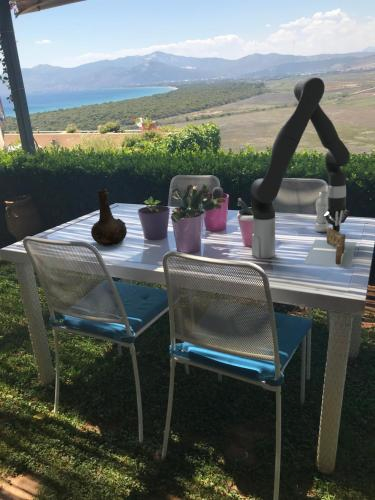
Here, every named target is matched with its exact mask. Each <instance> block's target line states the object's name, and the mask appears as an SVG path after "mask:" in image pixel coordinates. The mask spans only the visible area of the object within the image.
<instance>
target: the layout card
mask: <svg viewBox="0 0 375 500" xmlns="http://www.w3.org/2000/svg"><path fill="white" fill-rule="evenodd" d="M356 245H357V241H346V240H345V248H344V253H343V254H342V256H341V264H335V262H336V246H333V245H332V244H330V243H327V239H314V241H313V244H312V246H311V248H310V250H309V252H308V254H307V256H306V257H305V260H304V261H303V264H307V265H315V266H327V267H336V268H337V267H338V268H346V269H347V268H349V269H350V268H352V263H353V259H354V255H355V251H356Z"/></svg>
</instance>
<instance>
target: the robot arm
mask: <svg viewBox="0 0 375 500" xmlns="http://www.w3.org/2000/svg"><path fill="white" fill-rule="evenodd" d="M325 88H326V87H325V82H324V81H323V79H322V78H320V77H313V76H312V77H304V78H300V79H299V80H297V82H296V83H295V85H294V87H293V95H294V97H295V99H296V100H297V105H296V107H295V109H294V111H293V113H292V114H291V116H290V117H288V119H287V120H286V121H285V123H283V124H282V126H281V128H280V129H279V130H278V132H277V135H276V137H275V140H274V141H273V144H272V145H273V146H272V147H271V148H272V149H271V152H270V153H271V155H270V161H269V166H268V169H267V171H266V173H265V175H264V177H263V178H258V179H256V180H255V181H253V183H252V185H251V188H250V203H251V204H250V205H251V211H252V220H253V234H252V237H251V255H252V256H254V257H256V259H271V258H274V257H276V211H275V208H274V205H273V202H274V200H275V199H277V197H278V194H279V191H280V188H281V186H282V183H283V180H284V177H285V174H286V173H287V170H288V168H289V165H290V164H291V161H292V159H293V157H294V154H295V153H296V150H297V148H298V147H299V144H300V141H301V140H302V137H303V134H304V132H305V131H306V129H307V126H308V124H309V122H310V123H311V124H312V126H313V127H314V130H315V132H316V133H317V134H316V135H317V136H318V138H319V141H320V142H321V145H322V146H323V148H324V149H325V150H328V151H327V152H326V154H325V156H324V157H325V159H324V160H325V167H326V170H327V171H326V172H327V174H328V188H327V195H328V196H327V198H328V210H327V213H326V214H324V215H323V217H324V218H325V220H326V221H327V222H328V223H329V225H331V226H332V229H334V230H336V231H337V232H339V233H340V231H341V224H344V223H345V221H346V220H347V218H348V217H349V215H350V213H351V211H350V210H347V207H346V205H347V186H346V185H347V183H346V182H347V174H346V171H344V170H342V167H345V166H347V165H348V164H349V163H350V160H351V155H350V150H349V149H348V147H347V146H346V144H345V143H344V142H343V141H342V139H341V138H340V137H339V134H338V132H337V129H336V127H335V125H334V123H333V122H332V120H331V119H330V118H329V116H328V115H327V114H326V112H325V111H324V110H323V108H322V107H321V105H320V102H321V100H322V99H323V96H324V94H325Z"/></svg>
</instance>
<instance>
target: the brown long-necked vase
mask: <svg viewBox="0 0 375 500" xmlns="http://www.w3.org/2000/svg"><path fill="white" fill-rule="evenodd" d="M109 194H110V192H109V191H108V190H107V188H100V189H98V190H97V193H96V196H98V204H99V206H98V207H99V217H98V220H97V221H96V222H95V223H93V224H92V227H91V229H90V235H91V238H92V239H93V240H94V241H95V243H97V244H98V245H100V246H105V247H109V246H110V247H111V246H115V245H118V244H120V243H122V242H123V241H124V240H125V238H126V236H127V234H128V233H127V232H128V231H127V226H126V222H124V220H122V219H120V218H116V217H114V216H113V215H114V214H113V213H112V210H111V206H110V201H109V196H108V195H109Z"/></svg>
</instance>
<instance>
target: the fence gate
mask: <svg viewBox="0 0 375 500" xmlns="http://www.w3.org/2000/svg"><path fill="white" fill-rule="evenodd" d="M341 235H343V236H345V237H346V234H344V233H341V232H340V231H339V232H337V231H336V230H334V229H333V228H332V227H331V226H329V227H328V228H327V232H326V240H327V243H330V244H332V245H333V246H337V245H339V240H340V236H341ZM345 241H346V240H345ZM345 241H344V248H345Z"/></svg>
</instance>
